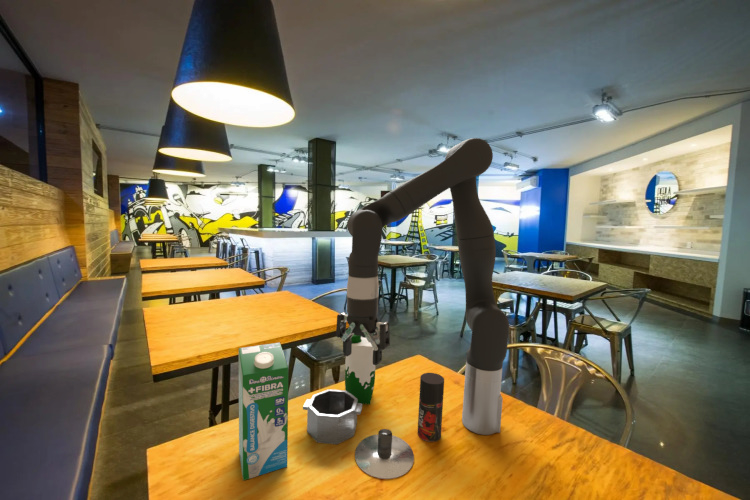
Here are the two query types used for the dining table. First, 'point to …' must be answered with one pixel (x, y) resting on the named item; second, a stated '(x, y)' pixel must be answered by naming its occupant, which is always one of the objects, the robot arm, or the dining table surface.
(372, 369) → the soya milk
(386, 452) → the lid
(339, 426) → the pot
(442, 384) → the deodorant
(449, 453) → the dining table surface
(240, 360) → the milk carton
